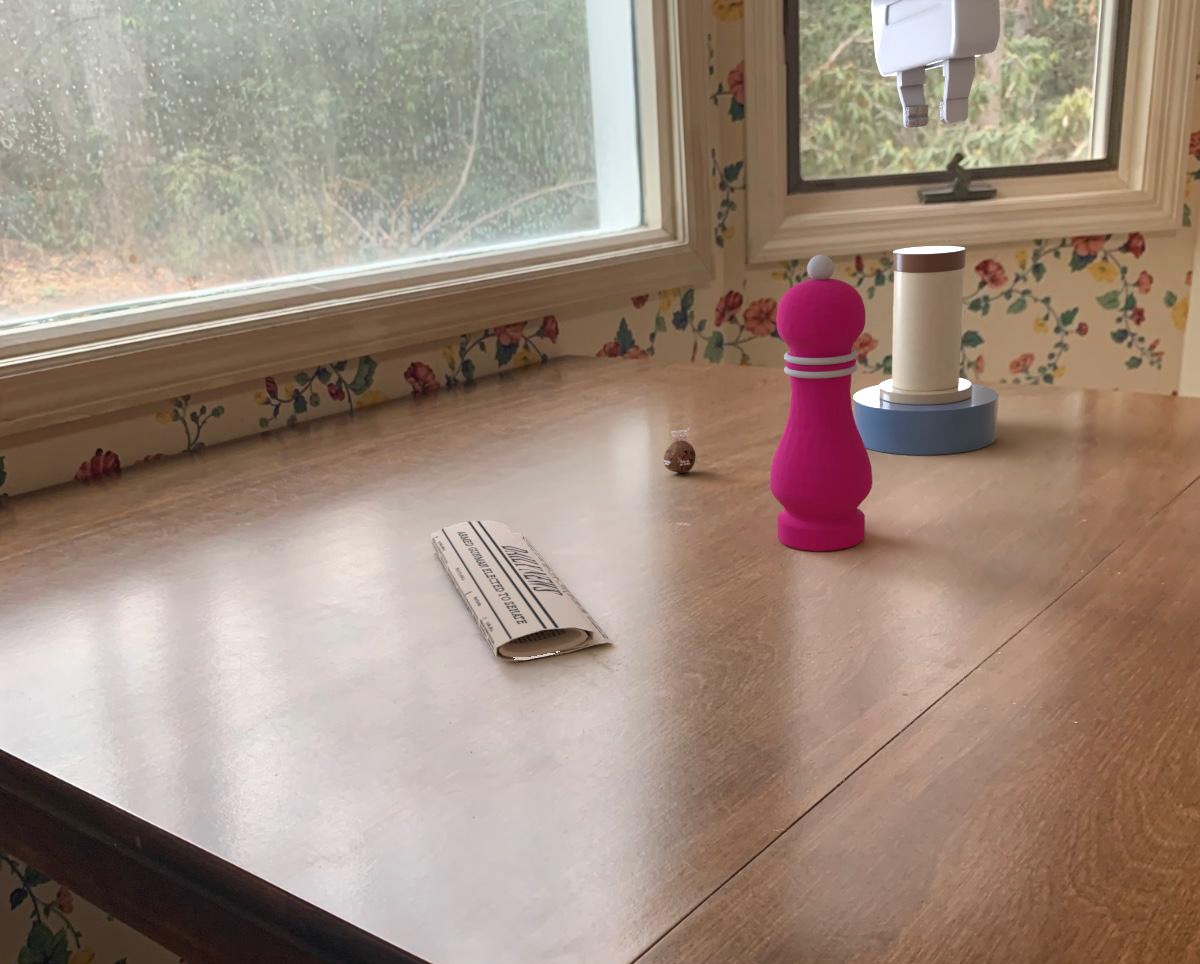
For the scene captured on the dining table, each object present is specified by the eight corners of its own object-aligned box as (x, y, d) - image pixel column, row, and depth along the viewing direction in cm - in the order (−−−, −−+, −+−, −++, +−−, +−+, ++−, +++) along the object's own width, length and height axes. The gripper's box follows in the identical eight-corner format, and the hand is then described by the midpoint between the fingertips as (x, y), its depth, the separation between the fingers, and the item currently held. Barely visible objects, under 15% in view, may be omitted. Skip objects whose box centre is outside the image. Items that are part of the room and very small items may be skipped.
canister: (943, 375, 115) (948, 244, 110) (971, 387, 109) (977, 249, 105) (880, 381, 114) (883, 249, 110) (905, 393, 108) (909, 255, 104)
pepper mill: (826, 561, 84) (826, 262, 76) (750, 540, 89) (743, 259, 82) (892, 535, 88) (898, 250, 80) (816, 516, 93) (815, 247, 86)
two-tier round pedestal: (960, 416, 120) (962, 366, 118) (1021, 446, 108) (1024, 391, 106) (834, 429, 119) (834, 378, 117) (881, 461, 107) (882, 405, 105)
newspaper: (430, 549, 92) (428, 526, 91) (521, 535, 93) (519, 513, 93) (497, 666, 71) (494, 638, 70) (612, 645, 72) (610, 617, 72)
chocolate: (668, 479, 106) (666, 434, 104) (661, 472, 108) (659, 428, 106) (701, 475, 106) (699, 430, 105) (693, 468, 108) (692, 425, 107)
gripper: (1023, -90, 87) (1021, 115, 92) (928, -41, 107) (930, 126, 111) (937, -81, 87) (939, 124, 92) (858, -34, 107) (863, 133, 111)
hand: (934, 125), depth 102 cm, fingers open, 8 cm apart
